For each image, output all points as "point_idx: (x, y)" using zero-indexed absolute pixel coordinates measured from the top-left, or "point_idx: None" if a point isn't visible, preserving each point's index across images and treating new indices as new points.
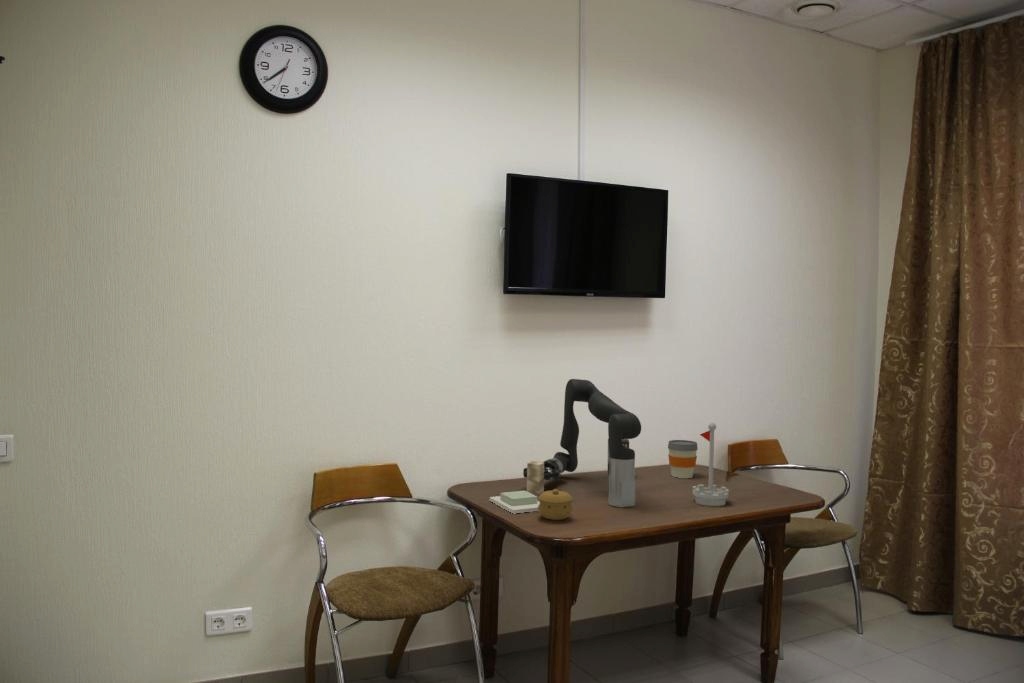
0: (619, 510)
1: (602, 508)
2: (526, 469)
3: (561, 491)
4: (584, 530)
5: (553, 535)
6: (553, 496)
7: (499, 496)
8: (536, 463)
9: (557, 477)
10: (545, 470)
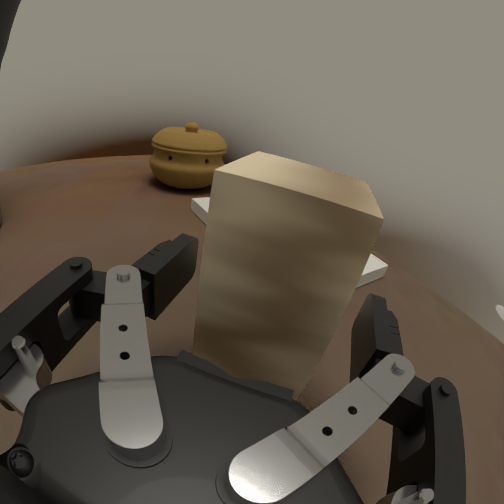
0: (16, 202)
1: (39, 211)
2: (428, 393)
3: (174, 132)
4: (148, 160)
5: None
6: (198, 129)
7: (367, 269)
8: (294, 168)
9: (68, 307)
10: (172, 365)
